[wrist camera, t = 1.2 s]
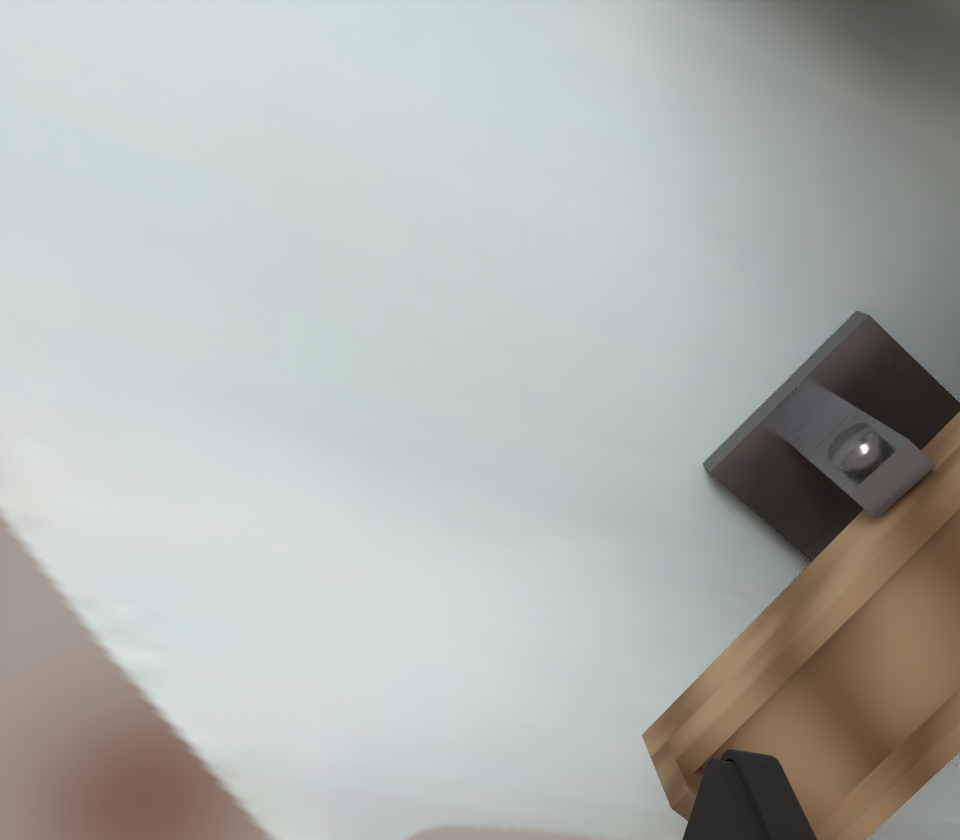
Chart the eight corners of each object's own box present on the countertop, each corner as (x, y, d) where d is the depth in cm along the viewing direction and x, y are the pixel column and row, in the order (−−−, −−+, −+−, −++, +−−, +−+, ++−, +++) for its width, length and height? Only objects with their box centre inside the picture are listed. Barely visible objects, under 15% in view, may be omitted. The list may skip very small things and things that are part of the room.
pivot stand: (856, 310, 36) (956, 345, 28) (1070, 517, 39) (1213, 599, 31) (702, 463, 38) (755, 533, 30) (915, 647, 41) (1012, 753, 33)
